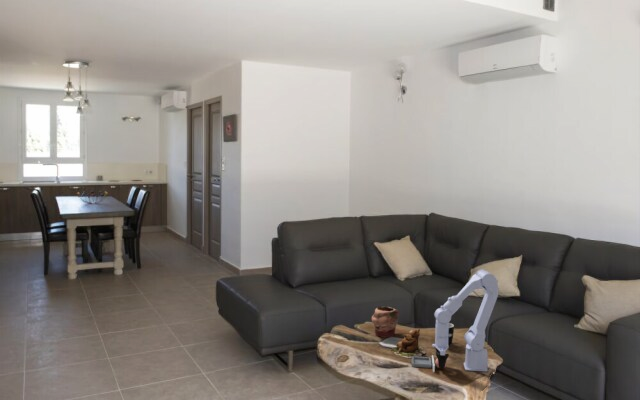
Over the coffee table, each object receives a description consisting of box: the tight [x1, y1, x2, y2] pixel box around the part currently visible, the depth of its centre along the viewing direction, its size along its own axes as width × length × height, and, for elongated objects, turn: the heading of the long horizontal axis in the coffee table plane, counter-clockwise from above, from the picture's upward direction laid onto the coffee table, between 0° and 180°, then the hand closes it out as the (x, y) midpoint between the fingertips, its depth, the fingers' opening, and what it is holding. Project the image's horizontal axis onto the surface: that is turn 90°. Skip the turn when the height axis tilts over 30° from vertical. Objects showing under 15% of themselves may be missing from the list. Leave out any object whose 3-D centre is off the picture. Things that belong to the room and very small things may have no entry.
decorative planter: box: [371, 306, 400, 338], centre depth 287 cm, size 20×12×14 cm, turn 139°
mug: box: [448, 322, 455, 347], centre depth 273 cm, size 12×9×10 cm
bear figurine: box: [390, 328, 426, 359], centre depth 261 cm, size 14×15×12 cm
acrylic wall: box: [431, 354, 436, 373], centre depth 244 cm, size 1×12×3 cm, turn 172°
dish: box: [411, 356, 432, 369], centre depth 248 cm, size 9×9×2 cm
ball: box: [434, 358, 448, 369], centre depth 242 cm, size 5×5×5 cm
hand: (441, 365), depth 242 cm, fingers open, 7 cm apart
